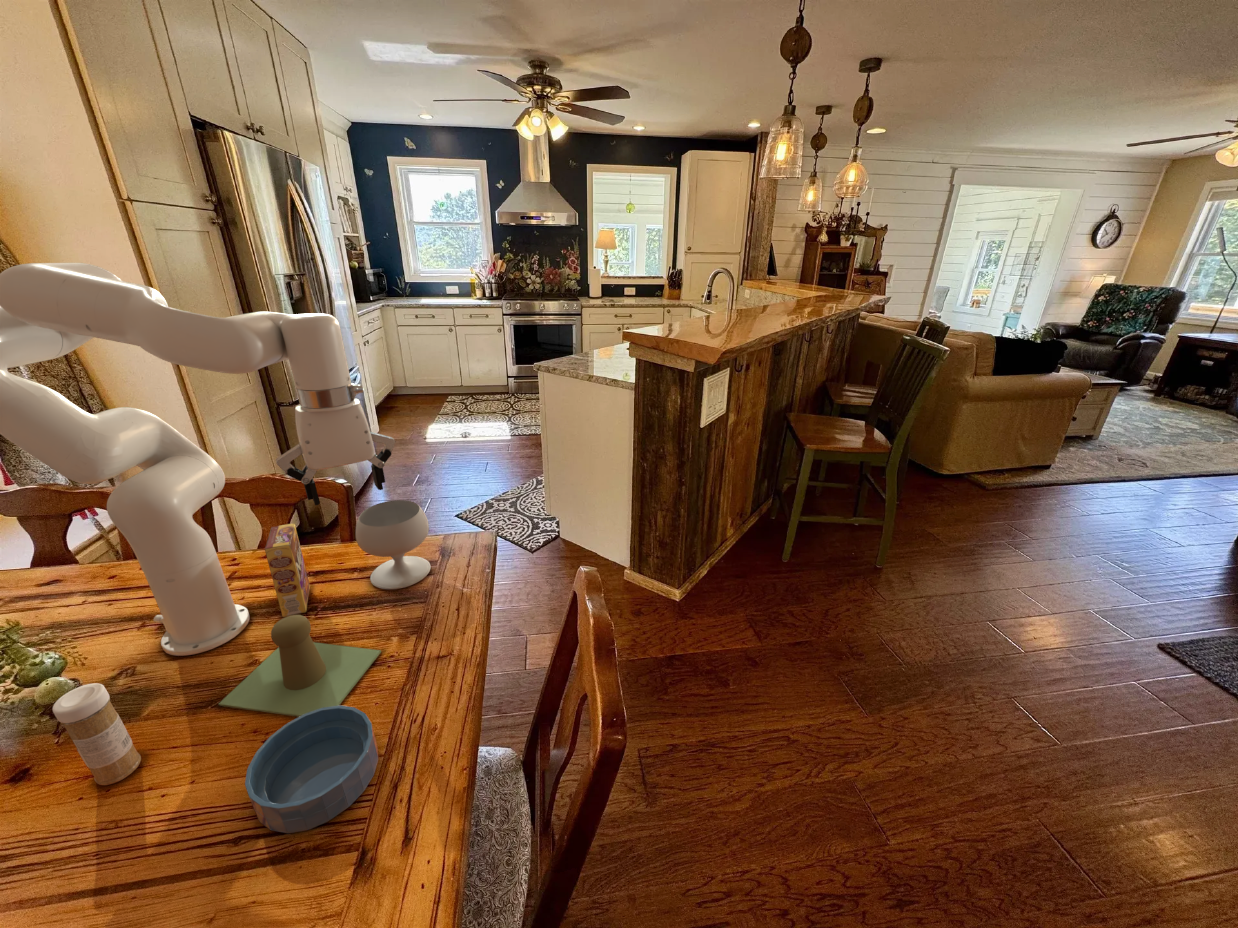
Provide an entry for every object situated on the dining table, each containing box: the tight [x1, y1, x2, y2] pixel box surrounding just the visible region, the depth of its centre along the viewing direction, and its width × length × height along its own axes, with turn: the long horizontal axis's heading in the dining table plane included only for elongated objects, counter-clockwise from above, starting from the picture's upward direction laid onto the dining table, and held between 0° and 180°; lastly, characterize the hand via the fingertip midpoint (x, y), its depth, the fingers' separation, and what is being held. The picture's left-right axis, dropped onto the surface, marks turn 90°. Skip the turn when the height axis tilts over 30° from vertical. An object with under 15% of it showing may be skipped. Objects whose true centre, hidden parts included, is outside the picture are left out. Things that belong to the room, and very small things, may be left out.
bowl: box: [244, 704, 379, 834], centre depth 64 cm, size 14×14×5 cm
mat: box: [218, 641, 382, 718], centre depth 80 cm, size 18×14×1 cm
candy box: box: [264, 523, 311, 618], centre depth 95 cm, size 9×4×15 cm, turn 26°
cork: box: [270, 614, 326, 690], centre depth 78 cm, size 6×6×11 cm
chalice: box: [355, 499, 432, 590], centre depth 104 cm, size 14×14×15 cm
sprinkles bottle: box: [51, 682, 142, 786], centre depth 63 cm, size 5×5×13 cm
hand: (348, 494), depth 84 cm, fingers open, 9 cm apart
